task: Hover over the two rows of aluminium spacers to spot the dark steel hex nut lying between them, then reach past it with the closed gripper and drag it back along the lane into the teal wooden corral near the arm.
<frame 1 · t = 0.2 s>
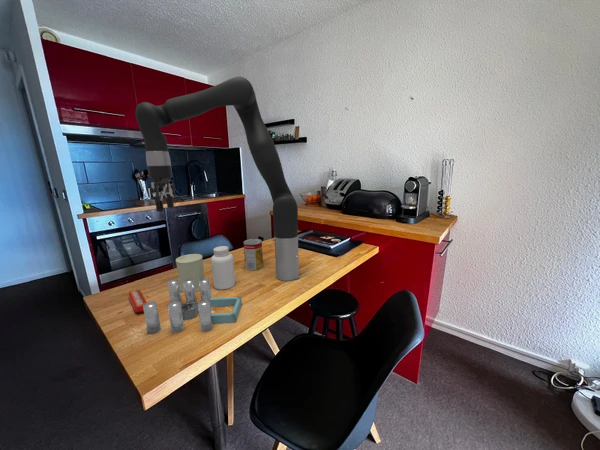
hand: (165, 209, 93), 29 cm above the table, fingers open, 8 cm apart
pill bottle: (224, 285, 95), on the table
candy bar: (138, 305, 83), on the table
nut: (189, 315, 77), on the table
corral: (222, 313, 77), on the table
spacers: (189, 314, 77), on the table
canned food: (254, 267, 112), on the table
can: (193, 286, 95), on the table
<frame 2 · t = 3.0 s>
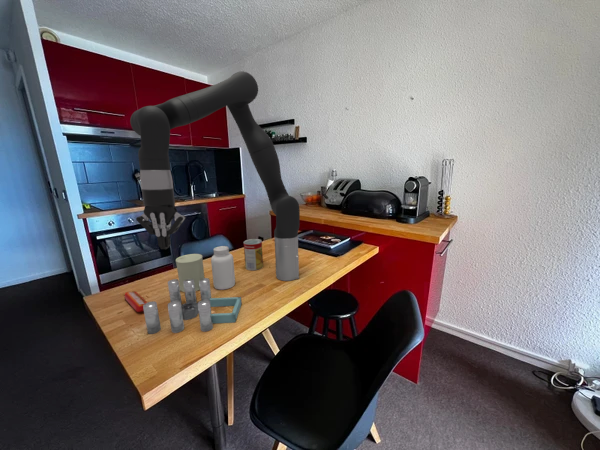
hand: (165, 248, 71), 22 cm above the table, fingers closed
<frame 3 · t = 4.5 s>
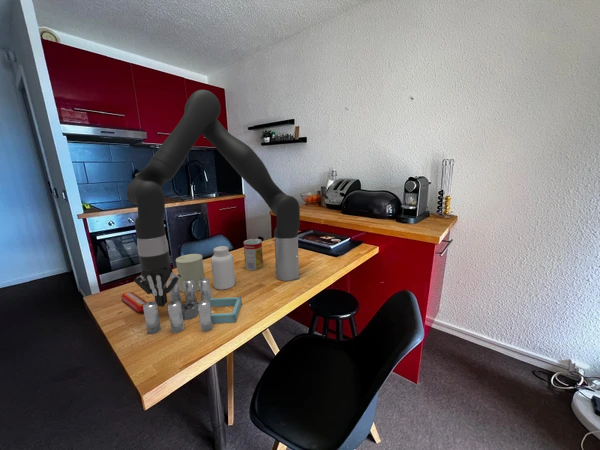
hand: (161, 305, 75), 4 cm above the table, fingers closed
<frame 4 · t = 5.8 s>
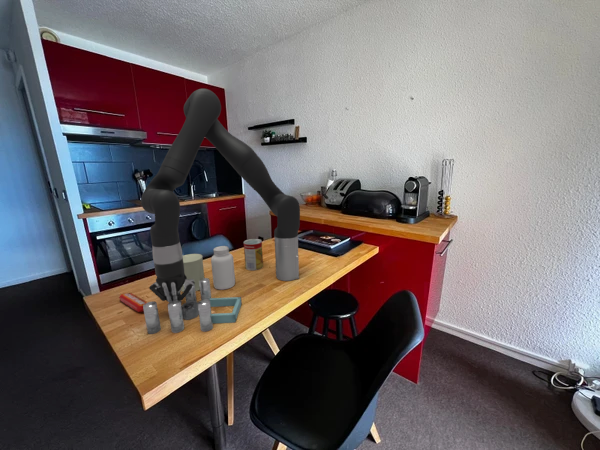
hand: (176, 311, 76), 1 cm above the table, fingers closed
nut: (190, 314, 76), on the table, touching gripper
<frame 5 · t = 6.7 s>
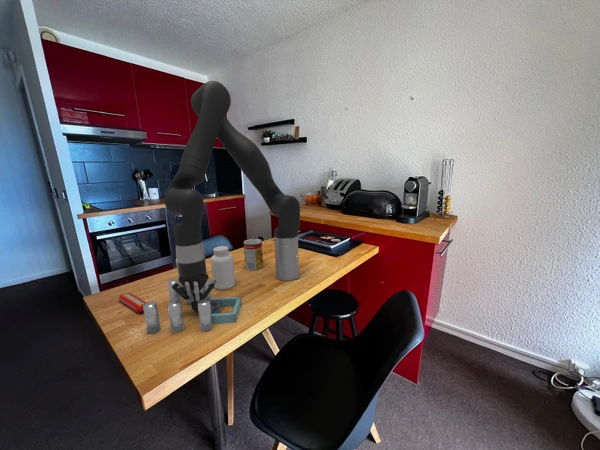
hand: (197, 310, 77), 1 cm above the table, fingers closed
nut: (212, 313, 77), on the table, touching gripper
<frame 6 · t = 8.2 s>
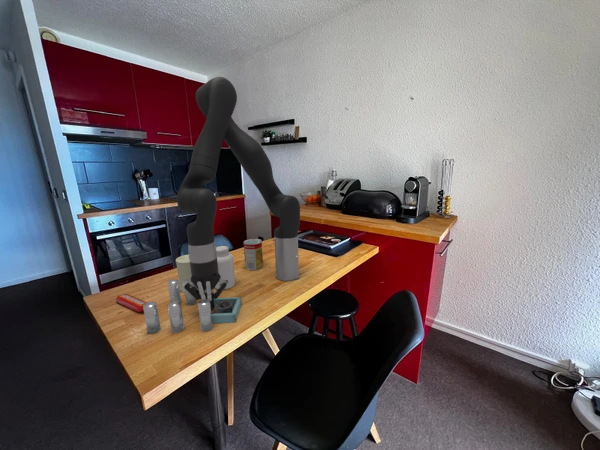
hand: (209, 310, 76), 1 cm above the table, fingers closed
nut: (225, 313, 77), on the table
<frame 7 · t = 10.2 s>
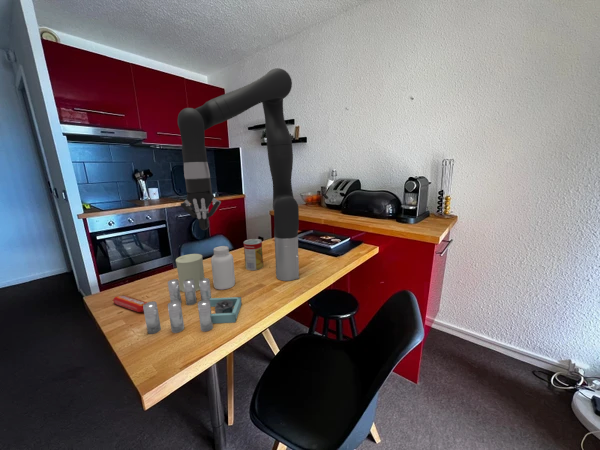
hand: (204, 229, 84), 24 cm above the table, fingers closed
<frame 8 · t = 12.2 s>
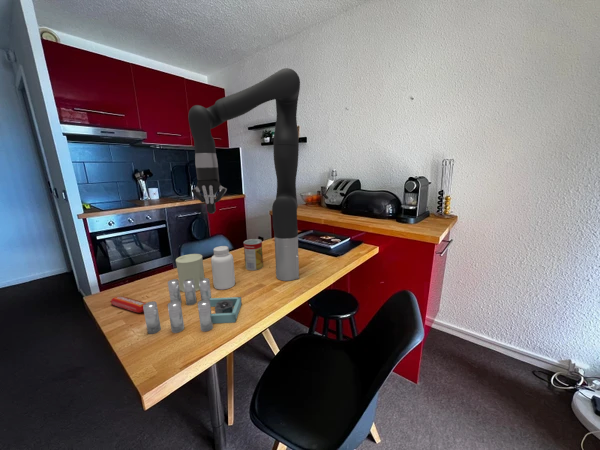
hand: (211, 213, 95), 27 cm above the table, fingers closed
at the end: nut inside the target area on the corral (1.6 cm from its centre), point 0.0 cm above the corral's base; nut moved 10.8 cm from its start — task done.
